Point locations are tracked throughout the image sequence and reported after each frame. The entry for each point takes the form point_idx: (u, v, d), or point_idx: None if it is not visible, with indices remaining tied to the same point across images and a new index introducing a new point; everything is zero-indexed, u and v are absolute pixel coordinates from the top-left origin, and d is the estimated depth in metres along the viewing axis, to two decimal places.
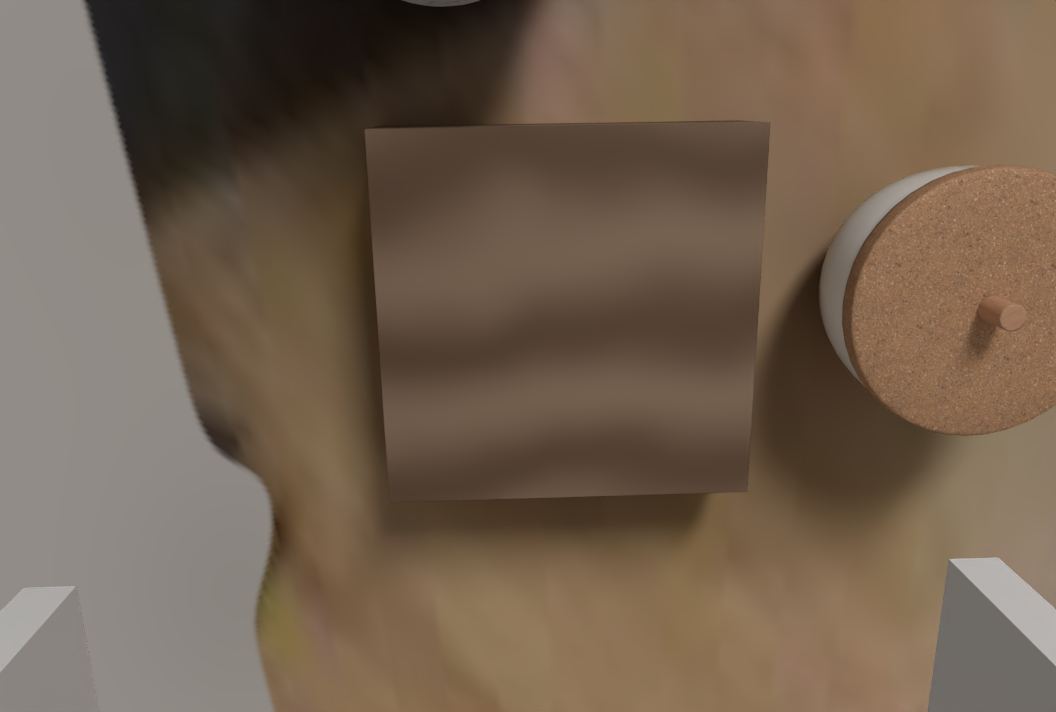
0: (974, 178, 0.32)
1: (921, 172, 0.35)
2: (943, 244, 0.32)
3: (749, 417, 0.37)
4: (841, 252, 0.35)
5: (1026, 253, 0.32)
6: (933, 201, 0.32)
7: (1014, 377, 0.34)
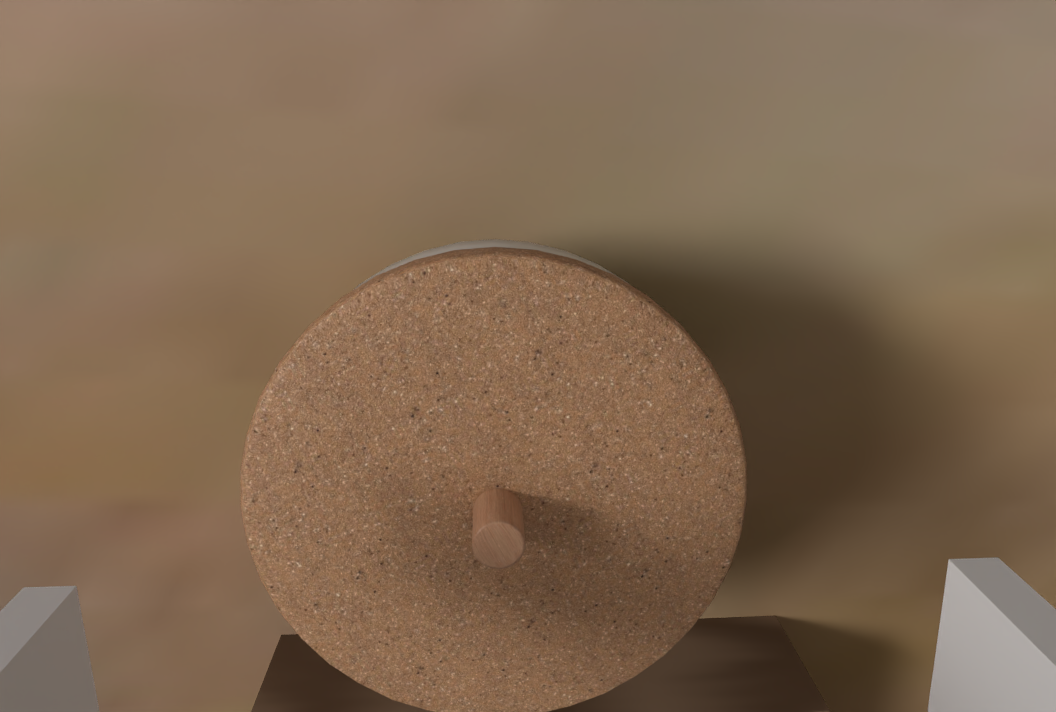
0: (264, 568, 0.18)
1: None
2: (381, 607, 0.18)
3: None
4: None
5: (391, 467, 0.17)
6: (309, 627, 0.18)
7: (632, 446, 0.17)
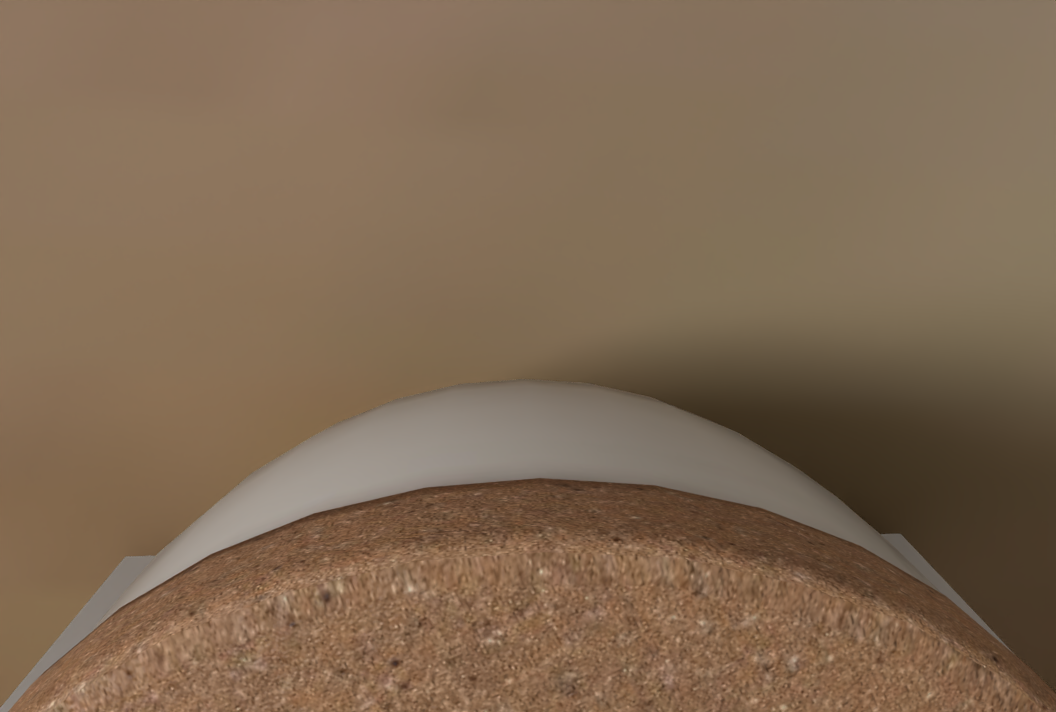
0: None
1: None
2: None
3: None
4: None
5: None
6: None
7: None
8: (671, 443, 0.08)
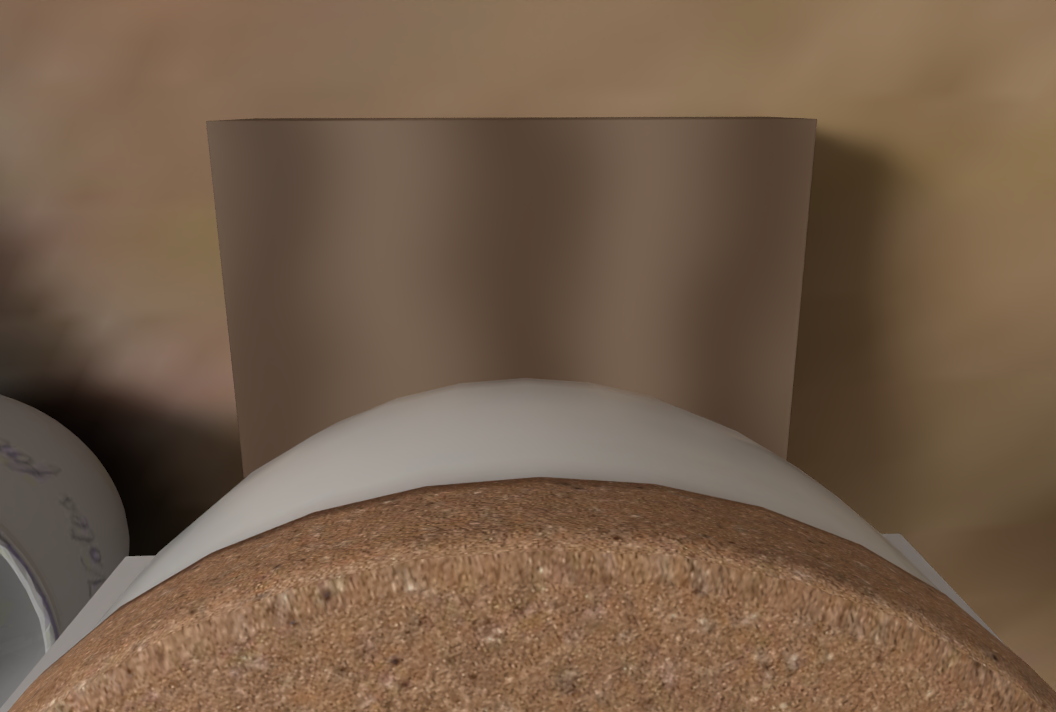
0: None
1: None
2: None
3: (683, 123, 0.23)
4: None
5: None
6: None
7: None
8: (671, 442, 0.08)
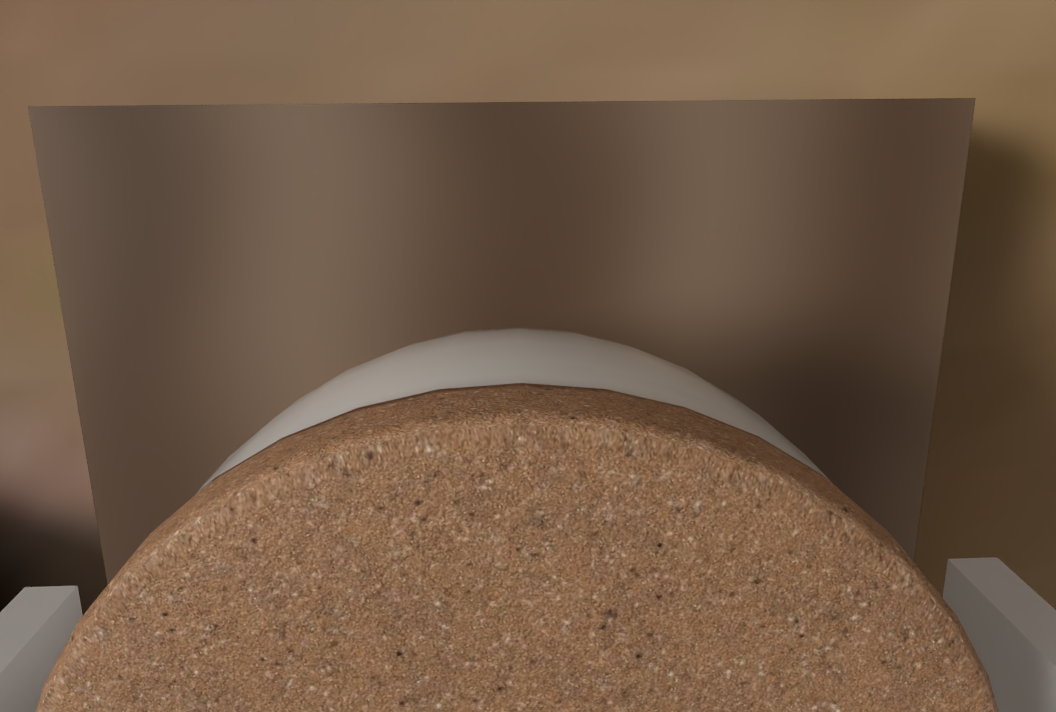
0: None
1: None
2: None
3: (770, 105, 0.15)
4: None
5: None
6: None
7: None
8: (626, 368, 0.10)
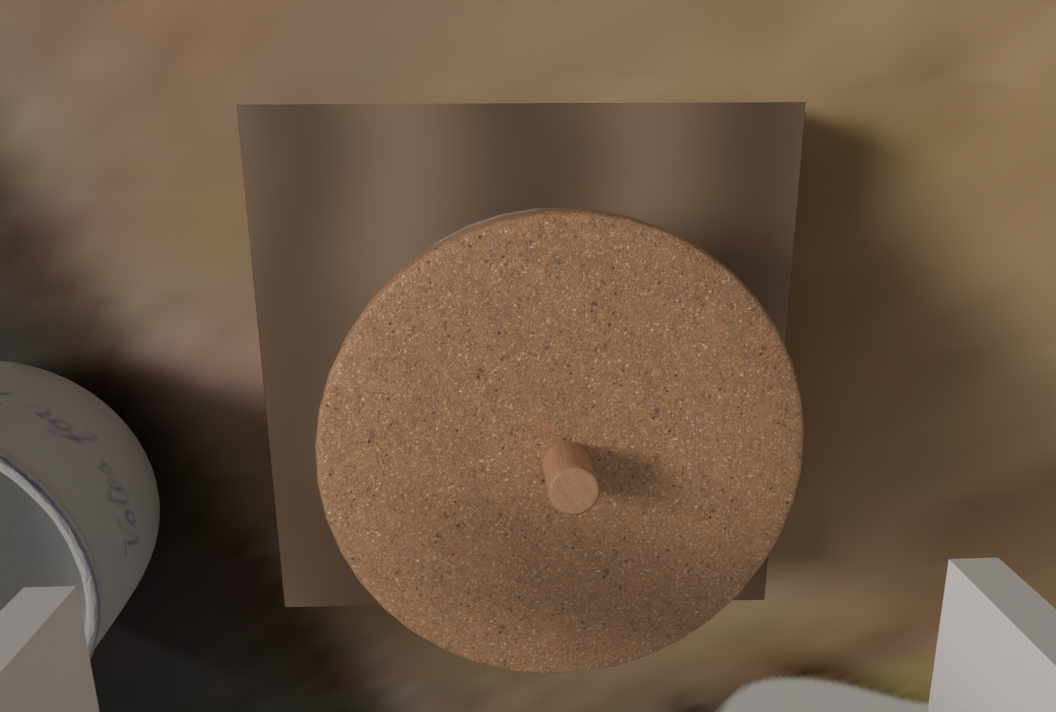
0: (344, 540, 0.19)
1: None
2: (460, 569, 0.19)
3: (680, 106, 0.24)
4: None
5: (460, 429, 0.18)
6: (391, 596, 0.19)
7: (691, 389, 0.18)
8: None
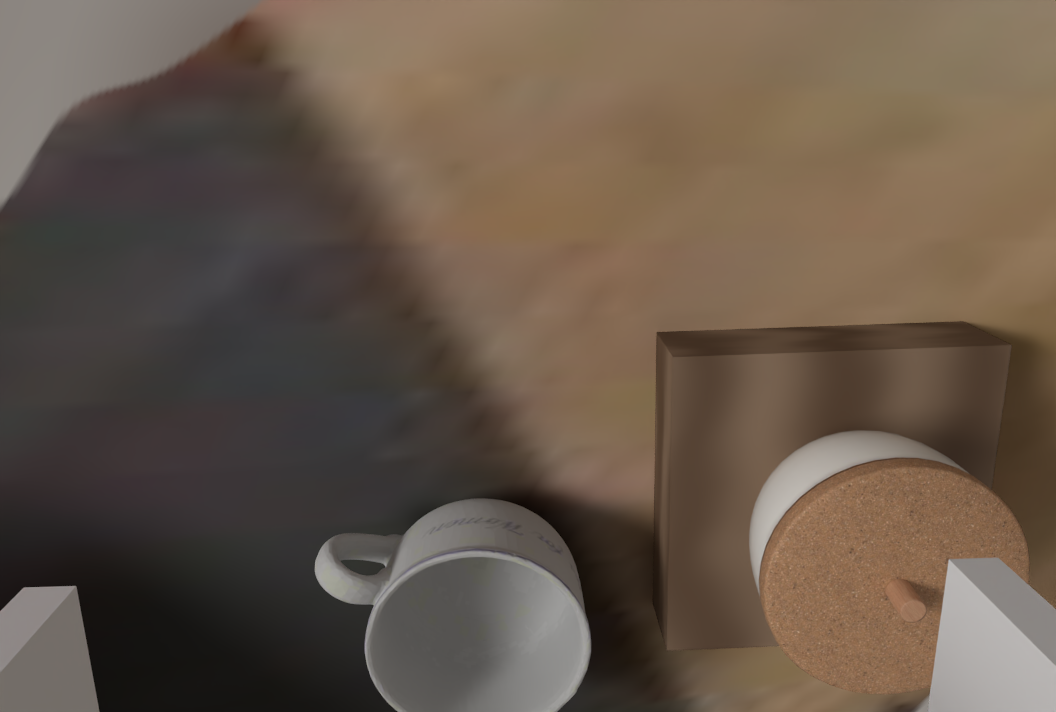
0: (780, 636, 0.35)
1: None
2: (842, 645, 0.35)
3: (936, 349, 0.40)
4: None
5: (841, 578, 0.34)
6: (804, 661, 0.36)
7: (966, 547, 0.34)
8: (894, 446, 0.35)
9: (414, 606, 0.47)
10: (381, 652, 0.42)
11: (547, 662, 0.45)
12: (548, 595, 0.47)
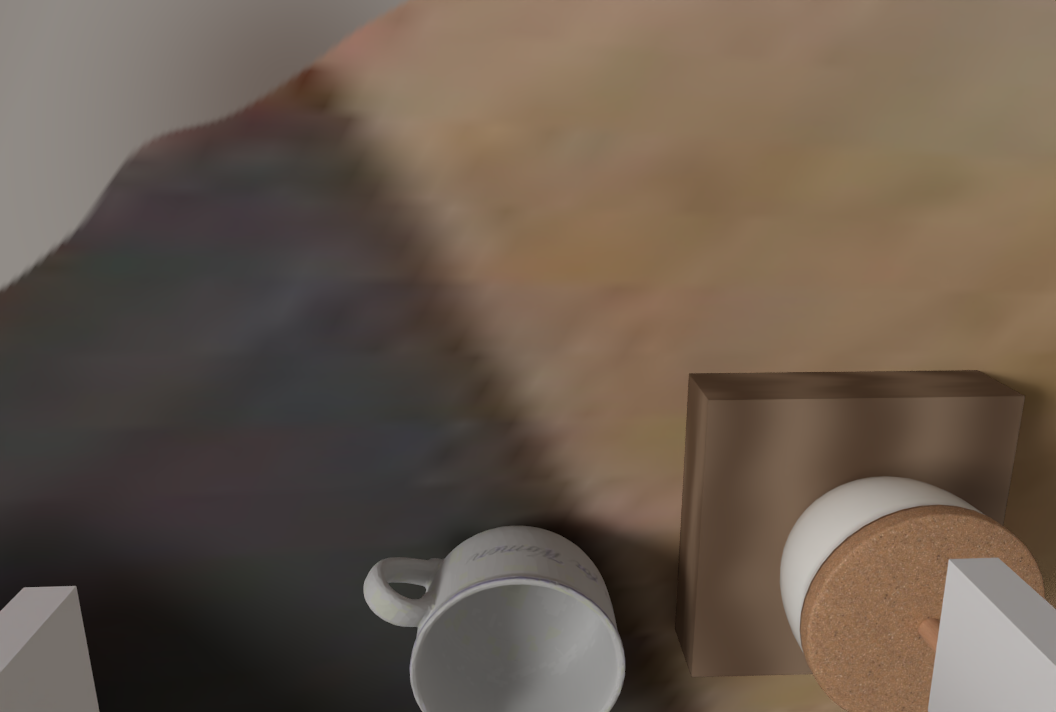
0: (824, 681, 0.38)
1: None
2: (881, 684, 0.38)
3: (955, 398, 0.43)
4: None
5: (878, 622, 0.37)
6: (847, 702, 0.38)
7: None
8: (913, 494, 0.38)
9: (450, 627, 0.49)
10: (423, 672, 0.44)
11: (578, 683, 0.47)
12: (578, 619, 0.49)
